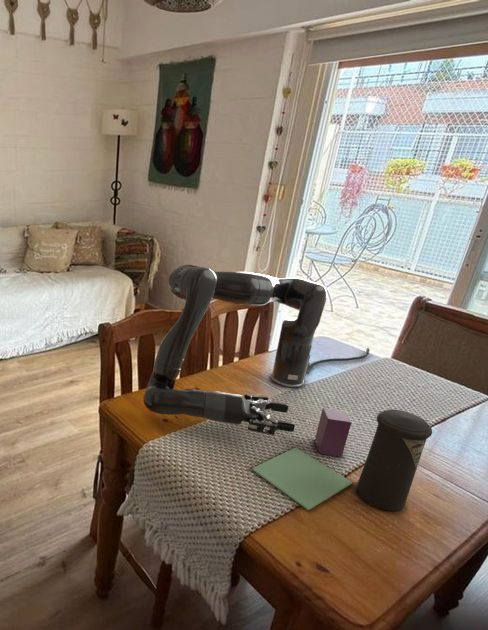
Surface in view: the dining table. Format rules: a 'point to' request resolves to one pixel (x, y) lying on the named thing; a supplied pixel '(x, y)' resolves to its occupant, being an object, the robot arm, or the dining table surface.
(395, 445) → the container
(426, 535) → the dining table surface
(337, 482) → the mat
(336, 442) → the block
